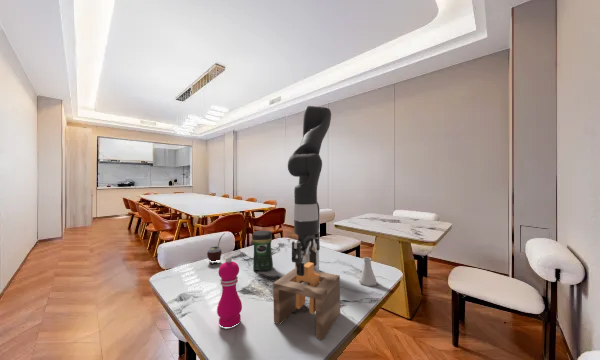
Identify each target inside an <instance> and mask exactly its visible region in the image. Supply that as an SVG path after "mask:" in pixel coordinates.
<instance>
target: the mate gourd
mask: <svg viewBox="0 0 600 360" xmlns="http://www.w3.org/2000/svg"><path fill="white" fill-rule="evenodd" d="M224 235H225V232H223V234H222V235H221V236H220V237H219V239H218V243H217V246H212V247H211V246H210V247H209V248H208V249H207V253H206V256H207V259H208V260H211V261H216V260H220V261H221V257H222V249H221V248H220V246H219V245H220V242H221V239H222V237H223V236H224Z"/></svg>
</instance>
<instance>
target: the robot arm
mask: <svg viewBox="0 0 600 360" xmlns="http://www.w3.org/2000/svg"><path fill="white" fill-rule="evenodd" d="M331 120H332V112H331V109H330V108H328V107H325V106H313V105H308V106H306V107H305V109H304V112H303V125H302V140H301V142H300V145H299V146H298V147H297V148H296V149H295V151H293V152H292V153H291V155H290V157H289V159H288V162H287V169H288V172H289V175H291V176H293V177H297V178H298V184H297V185H296V186H294V207H293V228H294V229H293V232H294V234H295V235H296V236H297V241H295V240H293V241H292V242H291V262H292V263H294V264H295V263H296V264H297V275H299V276H303V275H304V265H305V264H306V263H308V262H311V263H314V271H319V272H320V233H319V230H320V206H319V205H320V204H319V203H318V185H319V179H320V176H321V172H322V168H323V160H322V158H321V156H320V151H321V147H322V143H323V141H324V139H325V137H326V134H327V133H328V131H329V128H330V126H331ZM295 254H297V255H296V258H295Z"/></svg>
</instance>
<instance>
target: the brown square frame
mask: <svg viewBox="0 0 600 360" xmlns="http://www.w3.org/2000/svg"><path fill="white" fill-rule="evenodd" d="M314 273H317V274H319V284H318V285H317V286H316V287H314V286H310V283H308V282H305V281H303V282H302V283H297V282H296V274H297V267H296V268H295V267H294V268H293V269H292V270H290V271H288V272H287V273H286V274H285V275H283V276H281V277H279V278H278V279H277V280H275V281H274V282H273V283H272V287H273V289H272V290H273V291H272V292H273V323H274V322H275V323H277V324H276V325H278V324H280V323H281V322H282V321H283V320H284V319H285V318H286V319H287V318H288V317H289V316H290V315H291V314H292V313H293V312H294V311H295V310H296V309H297V308H296V294H298V295H302V296H305V298H306V297H307V298H309V299H310V298H314V299H316V311H315V335H316V336H315V338H316V337H317V338H316V339H319V338H320V339H319V340H322V341H323V340H325V338H326V337H327V335H328V333H329V332H330V330H331V329H332V327H333V325H334V324H335V323H336V321H337V319H338V317H339V316H340V315H341V285H340V284H341V283H340V280H341V279H340V278H341V277H340V275H338V274H334V273H329V272H322V271H320V270H319V271H314ZM286 319H285V320H286ZM285 320H284V321H285ZM284 321H283V322H284ZM283 322H282V323H283ZM275 323H274V324H275ZM282 323H281V324H282ZM281 324H280V325H281Z"/></svg>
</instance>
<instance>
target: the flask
mask: <svg viewBox="0 0 600 360" xmlns="http://www.w3.org/2000/svg"><path fill="white" fill-rule="evenodd" d="M362 259H363V268H362V272H361V274H360V277H359V280H358V282H359V283H360V284H361V286H367V287H372V286H374V287H375V286H376V285H377V283H378V281H377V278H376V276H375V273H374V271H373V267H372V258H371V257H368V256H366V257H363V258H362Z"/></svg>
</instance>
